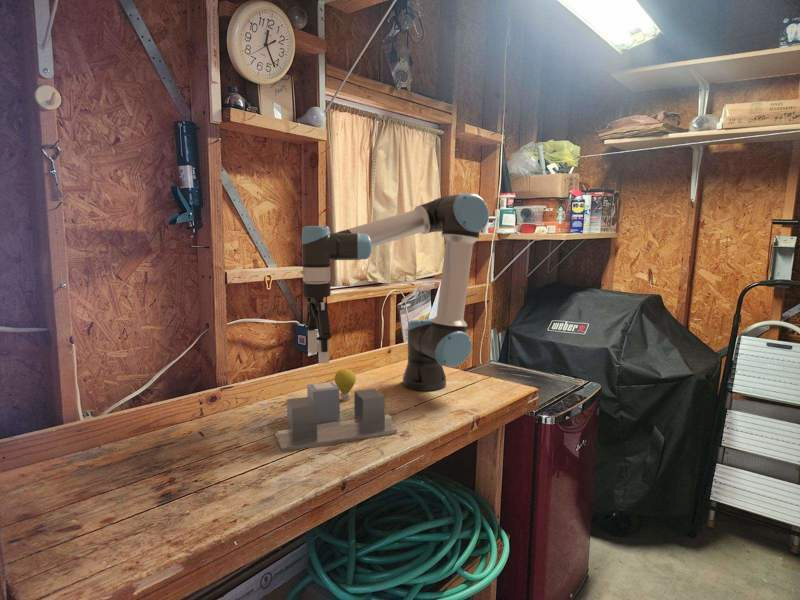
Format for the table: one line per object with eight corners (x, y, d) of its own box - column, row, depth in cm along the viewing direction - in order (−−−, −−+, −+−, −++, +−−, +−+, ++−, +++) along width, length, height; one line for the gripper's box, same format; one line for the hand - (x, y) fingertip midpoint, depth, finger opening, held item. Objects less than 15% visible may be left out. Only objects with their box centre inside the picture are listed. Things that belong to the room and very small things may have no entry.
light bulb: (345, 404, 152) (345, 373, 151) (330, 400, 156) (329, 369, 155) (360, 399, 157) (360, 368, 156) (345, 394, 161) (344, 365, 160)
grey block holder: (383, 420, 140) (383, 385, 138) (397, 433, 130) (397, 396, 129) (275, 436, 128) (273, 399, 127) (281, 452, 119) (280, 412, 118)
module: (333, 411, 147) (332, 380, 146) (339, 419, 140) (339, 387, 139) (307, 414, 144) (307, 383, 143) (313, 423, 137) (312, 391, 136)
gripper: (294, 279, 147) (296, 349, 150) (312, 287, 124) (314, 369, 127) (319, 278, 150) (321, 347, 153) (341, 286, 127) (343, 366, 130)
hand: (318, 357), depth 140 cm, fingers open, 13 cm apart
